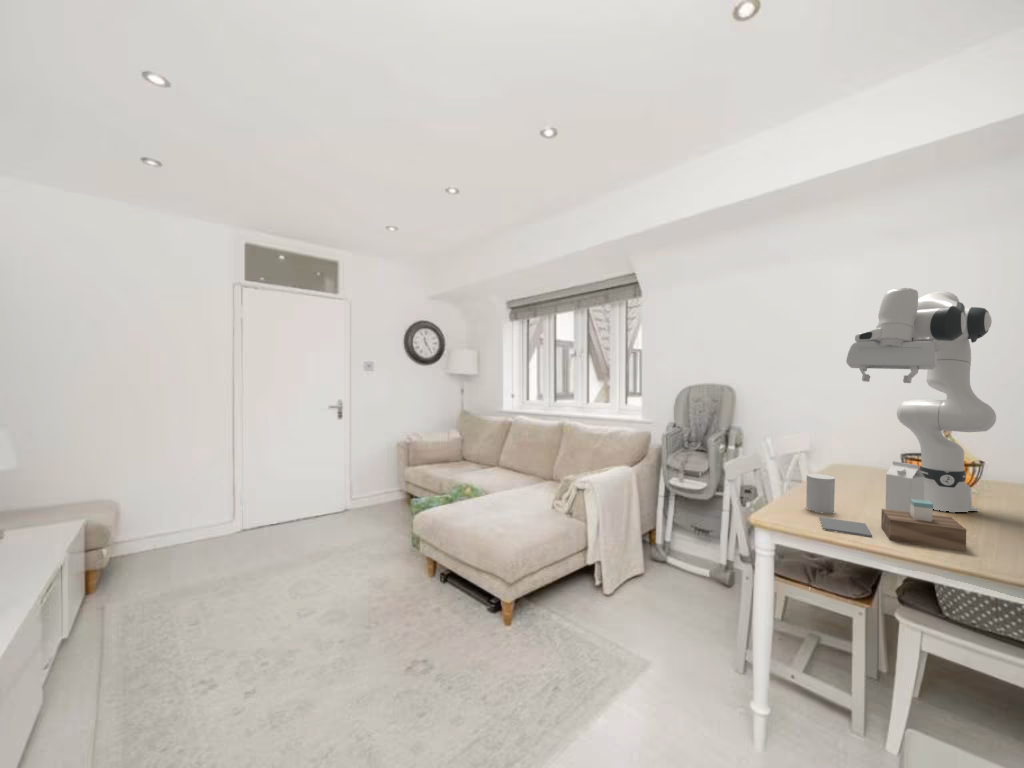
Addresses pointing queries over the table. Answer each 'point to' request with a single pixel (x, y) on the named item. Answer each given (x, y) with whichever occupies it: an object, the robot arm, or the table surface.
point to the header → (923, 530)
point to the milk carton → (903, 486)
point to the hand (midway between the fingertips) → (885, 381)
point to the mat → (845, 526)
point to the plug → (921, 510)
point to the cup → (820, 493)
